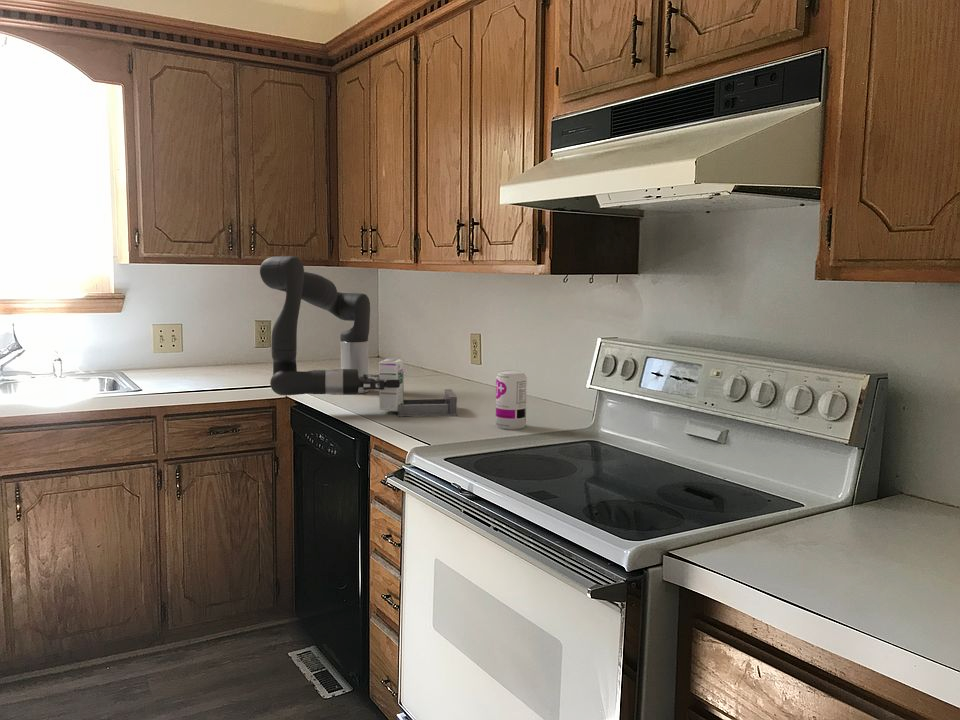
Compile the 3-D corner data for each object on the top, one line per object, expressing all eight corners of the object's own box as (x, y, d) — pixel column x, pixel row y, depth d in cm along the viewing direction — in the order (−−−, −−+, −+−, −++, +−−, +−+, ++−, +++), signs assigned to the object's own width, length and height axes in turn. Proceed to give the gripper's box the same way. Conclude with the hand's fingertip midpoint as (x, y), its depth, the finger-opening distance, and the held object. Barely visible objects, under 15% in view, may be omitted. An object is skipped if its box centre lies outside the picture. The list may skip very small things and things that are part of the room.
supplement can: (501, 430, 215) (501, 374, 213) (492, 424, 222) (492, 370, 220) (530, 429, 217) (531, 373, 215) (520, 423, 225) (520, 369, 223)
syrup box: (398, 411, 235) (398, 361, 233) (378, 409, 236) (378, 360, 234) (403, 407, 241) (404, 359, 239) (384, 406, 242) (385, 358, 240)
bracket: (396, 407, 246) (396, 390, 245) (451, 406, 248) (452, 389, 247) (398, 416, 232) (398, 398, 231) (457, 415, 234) (457, 396, 234)
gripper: (341, 372, 228) (400, 372, 230) (342, 365, 242) (398, 365, 244) (341, 399, 229) (400, 398, 231) (342, 390, 243) (398, 390, 245)
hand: (398, 381), depth 238 cm, fingers closed on syrup box, 7 cm apart
